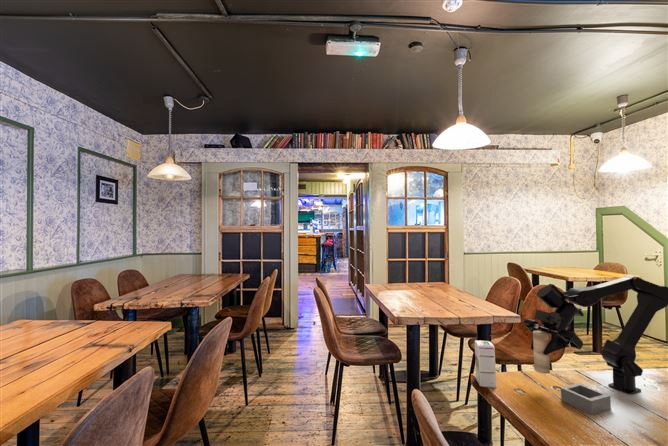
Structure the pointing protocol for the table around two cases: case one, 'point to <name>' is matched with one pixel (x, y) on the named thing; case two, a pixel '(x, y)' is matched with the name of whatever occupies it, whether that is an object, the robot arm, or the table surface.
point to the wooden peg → (541, 352)
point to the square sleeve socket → (586, 398)
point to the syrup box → (485, 363)
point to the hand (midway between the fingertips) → (537, 351)
